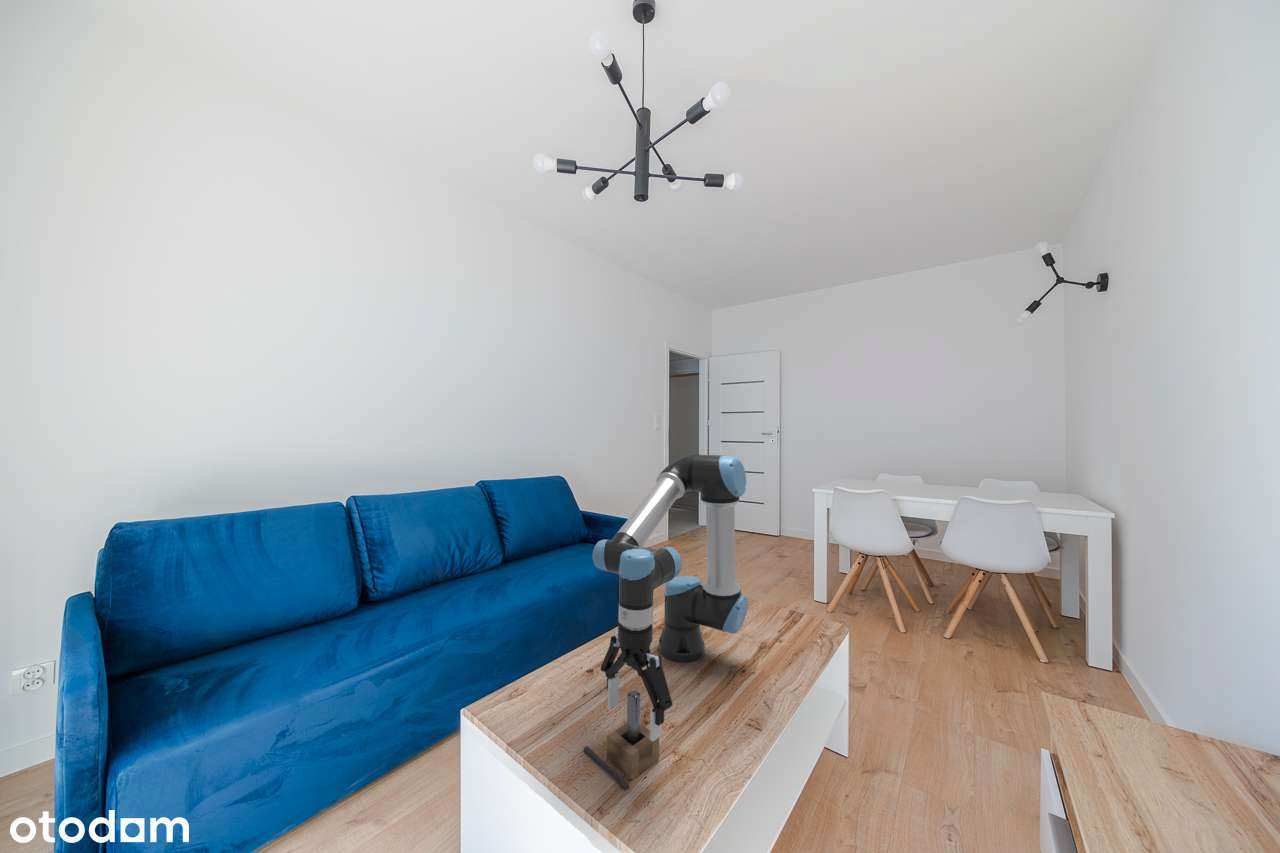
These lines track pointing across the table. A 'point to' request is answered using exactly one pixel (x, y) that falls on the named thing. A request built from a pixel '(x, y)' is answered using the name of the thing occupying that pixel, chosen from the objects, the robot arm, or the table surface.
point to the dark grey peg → (633, 717)
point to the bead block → (632, 751)
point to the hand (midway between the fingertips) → (633, 721)
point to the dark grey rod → (606, 768)
